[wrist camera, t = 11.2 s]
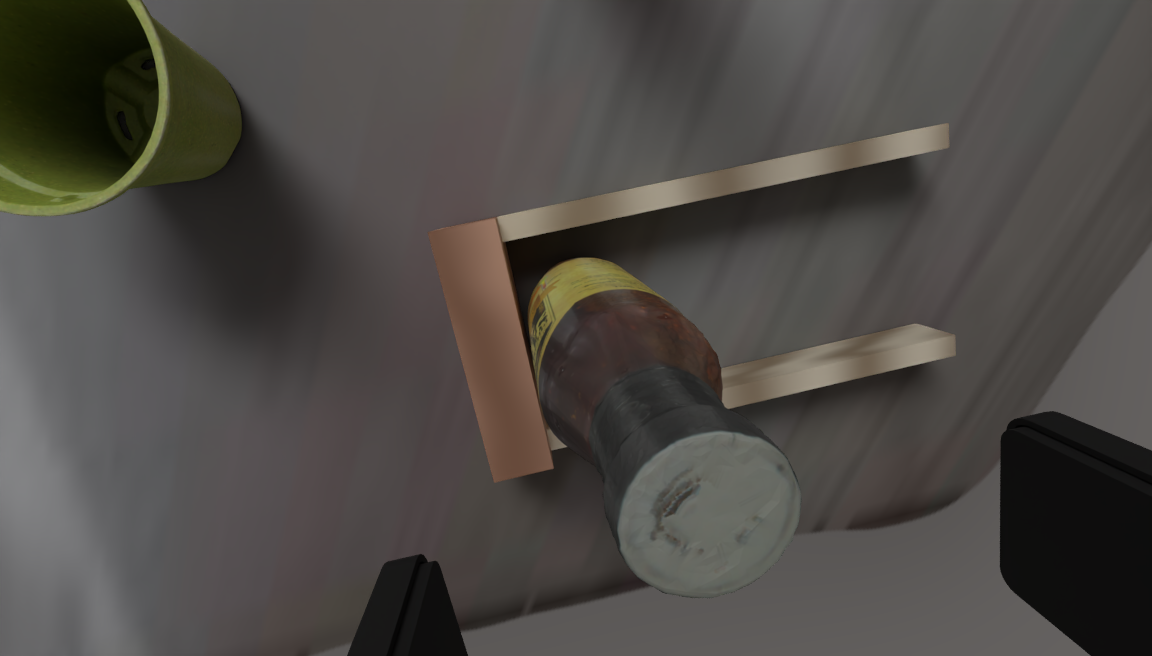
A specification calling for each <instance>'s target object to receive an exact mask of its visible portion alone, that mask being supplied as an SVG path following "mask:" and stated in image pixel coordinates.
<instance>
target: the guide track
mask: <svg viewBox="0 0 1152 656" xmlns="http://www.w3.org/2000/svg"><path fill="white" fill-rule="evenodd" d="M945 148H949V123H946V124H941V125H935V126H930V127H925V128H920V129H915V130H910V131H905V132H900V133H895V134H890V135H886V136H881V137H876V138H871V139H867V140H862V141H857V142H852V143H847V144H843V145H838V146H833V147H828V148H823V149H819V150H814V151H809V152H804V153H800V154H795V155H790V156H785V157H780V158H776V159H771V160H766V161H761V162H756V163H752V164H747V165H742V166H737V167H733V168H728V169H723V170H718V171H713V172H709V173H704V174H699V175H694V176H689V177H685V178H680V179H675V180H670V181H666V182H661V183H656V184H651V185H646V186H642V187H637V188H632V189H627V190H622V191H618V192H613V193H608V194H603V195H599V196H594V197H589V198H584V199H579V200H575V201H570V202H565V203H560V204H555V205H551V206H546V207H541V208H536V209H532V210H527V211H522V212H517V213H512V214H508V215H503V216H498V217H493V218H488V219H484V220H479V221H474V222H469V223H465V224H460V225H455V226H450V227H445V228H441V229H438V230H434V231H431V232H428V235H429V239H430V243H431V247H432V250H433V254H434V258H435V262H436V266H437V269H438V273H439V277H440V281H441V284H442V288H443V292H444V296H445V299H446V303H447V307H448V311H449V314H450V318H451V322H452V326H453V329H454V333H455V337H456V341H457V344H458V348H459V352H460V356H461V359H462V363H463V367H464V371H465V375H466V378H467V382H468V386H469V390H470V393H471V397H472V401H473V405H474V408H475V412H476V416H477V420H478V423H479V427H480V431H481V435H482V438H483V442H484V446H485V450H486V453H487V457H488V461H489V465H490V468H491V472H492V476H493V480H494V483H495V482H499V481H503V480H507V479H512V478H516V477H520V476H524V475H528V474H533V473H537V472H541V471H545V470H550V469H554V466H553V459H552V450H556V449H560V448H564V447H567V446H566V445H564V444H563V443H562V442H561V441H560V440H559V439H558V438H557V437H556V436H555V435H554V434H553V432H552V431H551V429H550V428H549V426H548V424H547V422H546V420H545V418H544V416H543V413H542V410H541V405H540V401H539V394H538V388H537V381H536V378H535V370H534V366H533V360H532V355H531V351H530V347H529V343H528V338H527V334H526V330H525V325H524V321H523V317H522V312H521V308H520V304H519V299H518V295H517V291H516V287H515V282H514V278H513V274H512V269H511V265H510V261H509V256H508V252H507V248H506V243H505V242H506V241H511V240H516V239H521V238H525V237H530V236H535V235H539V234H544V233H549V232H554V231H558V230H563V229H568V228H572V227H577V226H582V225H587V224H591V223H596V222H601V221H605V220H610V219H615V218H620V217H624V216H629V215H634V214H639V213H643V212H648V211H653V210H657V209H662V208H667V207H672V206H676V205H681V204H686V203H690V202H695V201H700V200H705V199H709V198H714V197H719V196H724V195H728V194H733V193H738V192H742V191H747V190H752V189H757V188H761V187H766V186H771V185H775V184H780V183H785V182H790V181H794V180H799V179H804V178H809V177H813V176H818V175H823V174H827V173H832V172H837V171H842V170H846V169H851V168H856V167H860V166H865V165H870V164H875V163H879V162H884V161H889V160H893V159H898V158H903V157H908V156H912V155H917V154H922V153H927V152H931V151H936V150H941V149H945ZM951 356H956V350H955V335H953V334H950V333H946V332H943V331H940V330H936V329H933V328H929V327H926V326H923V325H919V324H916V323H915V324H911V325H907V326H902V327H898V328H894V329H889V330H885V331H881V332H876V333H872V334H868V335H863V336H859V337H855V338H850V339H846V340H842V341H837V342H833V343H829V344H824V345H820V346H816V347H811V348H807V349H803V350H798V351H794V352H790V353H785V354H781V355H777V356H772V357H768V358H764V359H759V360H755V361H751V362H746V363H742V364H738V365H733V366H729V367H725V368H721V376H722V384H723V390H722V403H723V404H724V406H725V407H726V408H727V409H730V408H734V407H739V406H743V405H747V404H751V403H756V402H760V401H764V400H769V399H773V398H777V397H781V396H786V395H790V394H794V393H798V392H803V391H807V390H811V389H815V388H820V387H824V386H828V385H832V384H837V383H841V382H845V381H849V380H854V379H858V378H862V377H866V376H871V375H875V374H879V373H883V372H888V371H892V370H896V369H900V368H905V367H909V366H913V365H917V364H922V363H926V362H930V361H934V360H939V359H943V358H947V357H951Z"/></svg>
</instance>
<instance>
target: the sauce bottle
mask: <svg viewBox="0 0 1152 656" xmlns="http://www.w3.org/2000/svg"><path fill="white" fill-rule="evenodd" d="M528 327H529V334H530V341H531V351H532V357H533V366H534V370H535V378H536V381H537V388H538V394H539V401H540V405H541V410H542V413H543V416H544V418H545V420H546V422H547V424H548V426H549V428H550V429H551V431H552V432H553V434H554V435H555V436H556V437H557V438H558V439H559V440H560V441H561V442H562V443H563V444H564V445H566V446H567V447H569V448H570V449H571V450H573V451H574V452H576V453H577V454H578V455H580V456H581V457H583V458H584V459H586V460H587V461H588V462H590V463H591V464H593V465H594V466H596V467H597V470H598V472H599V473H600V474H601V475H602V477H603V483H604V492H603V498H604V507H605V514H606V518H607V520H608V522H609V525H610V528H611V531H612V534H613V537H614V538H615V540H616V543H617V546H618V550H619V552H620V554H621V556H622V557H623V559H624V561H625V563H626V564H627V565H628V567H629V568H630V569H631V570H632V571H633V572H634V573H635V574H636V576H637V577H638V578H639V579H641V580H643V581H644V582H646V583H647V584H649V585H650V586H652V587H655V588H656V589H658V590H659V591H661V592H663V593H666V594H673V595H679V596H683V597H690V598H713V597H717V596H720V595H724V594H727V593H732V592H735V591H737V590H739V589H741V588H743V587H745V586H747V585H749V584H751V583H752V582H754V581H755V580H757V579H759V578H760V577H761V576H762V575H763V574H765V573H766V572H767V571H768V570H769V569H770V568H771V567H772V566H773V565H774V564H775V563H776V562H778V561H779V559H780V557H781V556H782V554H783V553H784V551H785V549H786V548H787V546H788V545H789V544H790V543H791V542H792V540H793V536H794V532H795V530H796V528H797V526H798V523H799V517H800V510H801V492H800V487H799V484H798V480H797V478H796V475H795V473H794V471H793V469H792V467H791V465H790V463H789V461H788V459H787V457H786V456H785V455H784V454H783V452H782V451H781V450H780V449H779V448H778V447H777V446H776V445H775V444H774V443H773V442H772V441H771V440H770V439H769V438H768V437H767V436H766V435H764V433H763V432H762V431H761V430H760V429H758V428H757V427H756V426H754V425H753V424H752V423H751V422H750V421H749V420H748V419H746V418H745V417H743V416H741V415H740V414H738V413H736V412H733V411H731V410H728V409H727V408H726V407H725V406H724V404H723V403H722V390H723V384H722V376H721V367H720V364H719V360H718V356H717V354H716V352H715V351H714V350H713V349H712V347H711V346H710V344H709V342H708V341H707V340H706V339H705V337H704V336H703V333H701V332H700V331H699V330H698V329H697V327H696V326H695V325H694V324H693V323H691V322H690V321H689V320H688V319H686V318H685V317H684V316H683V315H682V313H681V312H680V311H679V310H678V309H677V308H676V307H674V306H673V305H672V304H671V303H670V302H668V301H667V300H665V299H664V298H663V297H661V296H660V295H658V294H657V293H656V292H654V291H653V290H652V289H650V288H649V287H647V286H646V285H644V284H643V283H642V282H640V281H639V280H638V279H636V278H635V277H634V276H632V275H631V274H629V273H628V272H626V271H625V270H624V269H622V268H621V267H619V266H618V265H616V264H614V263H612V262H610V261H606V260H603V259H598V258H595V257H592V258H587V257H585V258H583V257H582V258H573V259H568V260H565V261H561V262H559V263H558V264H556V265H555V266H553V267H551V268H550V269H549V270H548V271H547V272H546V273H545V275H544V276H543V277H542V278H541V280H540V281H539V283H538V284H537V286H536V287H535V288H534V290H533V292H532V295H531V298H530V302H529V306H528Z"/></svg>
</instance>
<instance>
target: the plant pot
mask: <svg viewBox="0 0 1152 656" xmlns="http://www.w3.org/2000/svg"><path fill="white" fill-rule="evenodd" d="M149 59H154V60H155V64H156V67H154V68H151V69H149V70H143V69H142V68H141V66H142V64H143V63H144V62H145V61H147V60H149ZM119 111H123V112H124V115H125V120H126V126H127V128H128V130H129V132H130V134H131V136H132V138H133V139H132V140H130V139H127V138H126V137H125V135H124V134H123V132H122V129H121V127H120V125H119V121H118V118H117V115H118V112H119ZM241 131H242V119H241V111H240V106H239V103H238V101H237V98H236V95H235V94H234V92H233V90H232V88H231V86H230V84H229V83H228V81H227V80H226V79H225V77H224V76H223V75H222V74H221V73H220V72H219V71H218V69H216V68H215V67H214V66H213V65H212V64H211V63H210V62H208V61H207V60H206V59H205V58H203V57H202V56H201V55H199V54H198V53H197V52H196V51H194V50H193V49H192V48H190V47H189V46H188V45H186V44H185V43H184V42H182V41H181V40H180V39H178V38H177V37H176V36H175V35H173V34H172V33H171V32H170V31H169V30H167V29H166V28H165V27H164V26H163V25H161V24H160V23H159V22H158V21H157V20H155V19H154V18H153V17H152V16H151V15H150V13H149V11H148V10H147V8H146V6H145V5H144V3H143V2H142V0H0V211H1V212H6V213H11V214H17V215H25V216H60V215H68V214H75V213H79V212H84V211H87V210H90V209H93V208H96V207H99V206H101V205H104V204H106V203H108V202H110V201H112V200H113V199H115V198H117V197H119V196H120V195H122V194H123V193H125V192H126V191H127V190H128V189H132V188H140V187H147V186H154V185H160V184H167V183H175V182H183V181H192V180H198V179H202V178H205V177H207V176H210V175H212V174H214V173H216V172H217V171H219V170H220V169H221V168H223V167H224V166H225V165H226V163H227V161H228V160H229V158H230V156H231V155H232V153H233V151H234V149H235V147H236V145H237V143H238V142H239V140H240V137H241Z"/></svg>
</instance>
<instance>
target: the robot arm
mask: <svg viewBox="0 0 1152 656" xmlns="http://www.w3.org/2000/svg"><path fill="white" fill-rule="evenodd" d="M1000 472H1001V474H1000V476H1001V477H1000V479H1001V480H1000V482H1001V483H1000V570H1001V573H1002V576H1003V578H1004V580H1005V582H1006V583H1007V585H1008V586H1009V587H1010V589H1011V590H1012V591H1013V592H1014V593H1015V594H1017V595H1018V596H1019V597H1020V598H1021V599H1023V600H1024V601H1025V602H1026V603H1028V604H1029V605H1030V606H1031V607H1032V608H1034V609H1035V610H1036V611H1037V612H1039V613H1040V614H1041V615H1042V616H1043V617H1045V618H1046V619H1047V620H1048V621H1049V622H1051V623H1052V624H1053V625H1054V626H1055V627H1057V628H1058V629H1059V630H1060V631H1062V632H1063V633H1064V634H1065V635H1066V636H1068V637H1069V638H1070V639H1071V640H1073V641H1074V642H1075V643H1076V644H1077V645H1079V646H1080V647H1081V648H1082V649H1083V650H1085V651H1086V652H1087V653H1088V654H1090V655H1091V656H1152V451H1151V450H1149V449H1146V448H1143V447H1142V446H1139V445H1137V444H1134V443H1132V442H1129V441H1127V440H1124V439H1122V438H1120V437H1117V436H1115V435H1112V434H1110V433H1108V432H1105V431H1102V430H1100V429H1097V428H1095V427H1093V426H1091V425H1088V424H1085V423H1083V422H1081V421H1078V420H1076V419H1073V418H1071V417H1069V416H1066V415H1064V414H1061V413H1058V412H1054V411H1052V412H1051V411H1050V412H1043V413H1039V414H1034V415H1030V416H1026V417H1021V418H1017V419H1014V420H1012V421H1011V422H1010V423H1009V424H1008V426H1007V430H1006V431H1005V432H1004V433H1003V434H1002V436H1001V471H1000ZM347 656H468V654H467V651H466V648H465V645H464V642H463V638H462V635H461V632H460V629H459V625H458V622H457V619H456V616H455V613H454V610H453V606H452V603H451V600H450V597H449V594H448V590H447V587H446V584H445V581H444V578H443V574H442V571H441V568H440V566H439V564H438V562H437V561H432V562H427V559H426V558H425V556H424V555H422V554H419V555H415V556H410V557H406V558H402V559H397V560H393V561H388V562H386V563H385V564H384V565H383V567H382V569H381V572H380V574H379V577H378V579H377V582H376V584H375V587H374V589H373V592H372V594H371V597H370V599H369V602H368V604H367V607H366V609H365V612H364V615H363V617H362V620H361V622H360V625H359V627H358V630H357V632H356V635H355V637H354V640H353V642H352V645H351V647H350V650H349V652H348V655H347Z"/></svg>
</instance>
